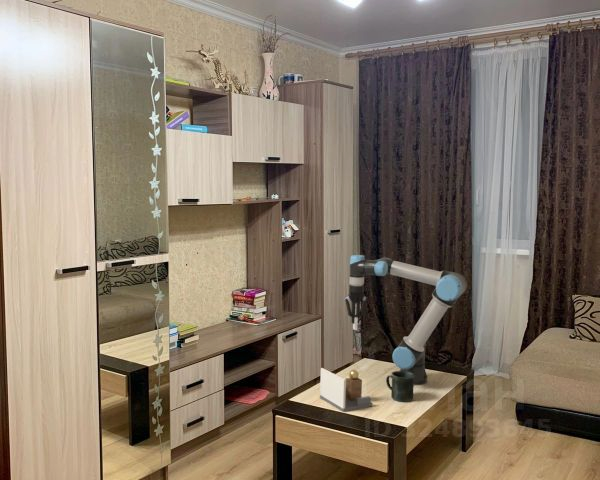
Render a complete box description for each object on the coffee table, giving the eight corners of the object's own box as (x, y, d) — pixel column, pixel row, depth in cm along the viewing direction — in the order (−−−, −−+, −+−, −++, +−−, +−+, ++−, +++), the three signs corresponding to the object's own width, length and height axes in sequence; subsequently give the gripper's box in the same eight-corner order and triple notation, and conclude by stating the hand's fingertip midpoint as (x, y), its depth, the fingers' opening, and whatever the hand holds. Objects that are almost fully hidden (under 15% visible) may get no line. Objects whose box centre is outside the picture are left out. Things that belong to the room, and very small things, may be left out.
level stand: (320, 398, 292) (320, 368, 291) (348, 393, 300) (348, 364, 299) (343, 411, 275) (344, 380, 273) (372, 406, 282) (373, 375, 281)
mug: (406, 404, 286) (407, 379, 285) (380, 397, 295) (380, 372, 294) (418, 398, 294) (419, 374, 293) (392, 391, 304) (393, 368, 303)
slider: (344, 397, 289) (345, 369, 288) (355, 395, 292) (356, 367, 290) (350, 400, 284) (351, 372, 283) (361, 398, 287) (362, 370, 286)
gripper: (365, 283, 324) (364, 327, 326) (342, 283, 320) (341, 328, 322) (370, 285, 316) (369, 330, 318) (346, 286, 313) (345, 331, 315)
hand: (355, 329), depth 320 cm, fingers closed
